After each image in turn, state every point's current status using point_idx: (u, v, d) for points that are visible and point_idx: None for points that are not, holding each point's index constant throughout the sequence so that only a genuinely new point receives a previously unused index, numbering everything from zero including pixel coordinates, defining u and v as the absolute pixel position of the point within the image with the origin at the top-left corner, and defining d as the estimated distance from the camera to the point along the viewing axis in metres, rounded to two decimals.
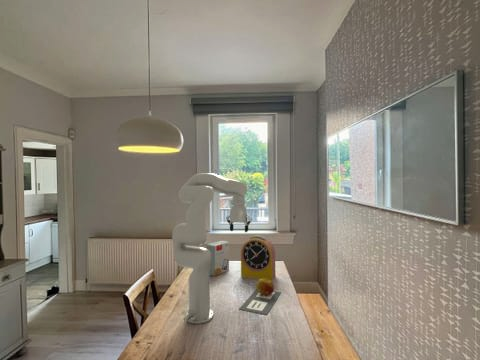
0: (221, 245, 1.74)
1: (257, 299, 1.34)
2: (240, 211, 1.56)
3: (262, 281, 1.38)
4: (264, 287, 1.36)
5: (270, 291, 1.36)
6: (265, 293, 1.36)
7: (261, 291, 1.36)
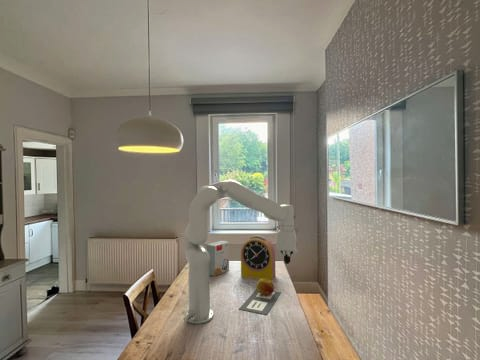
0: (221, 245, 1.74)
1: (257, 299, 1.34)
2: (289, 238, 1.32)
3: (262, 281, 1.38)
4: (264, 287, 1.36)
5: (270, 291, 1.36)
6: (265, 293, 1.36)
7: (261, 291, 1.36)
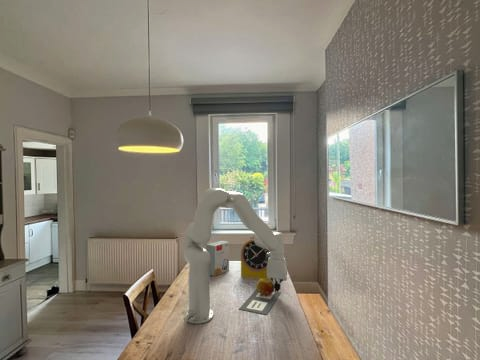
0: (221, 245, 1.74)
1: (257, 299, 1.34)
2: (279, 266, 1.34)
3: (262, 281, 1.38)
4: (264, 287, 1.36)
5: (270, 291, 1.36)
6: (265, 293, 1.36)
7: (261, 291, 1.36)
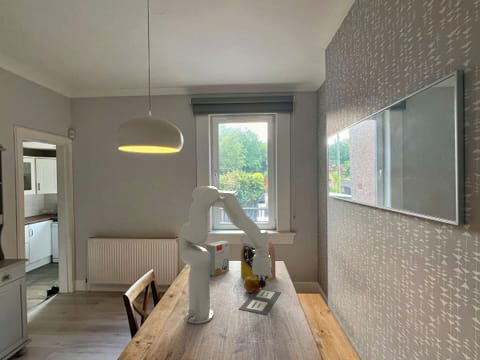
0: (221, 245, 1.74)
1: (257, 299, 1.34)
2: (264, 263, 1.38)
3: (248, 279, 1.43)
4: (250, 284, 1.40)
5: (256, 288, 1.40)
6: (251, 291, 1.40)
7: (247, 288, 1.41)
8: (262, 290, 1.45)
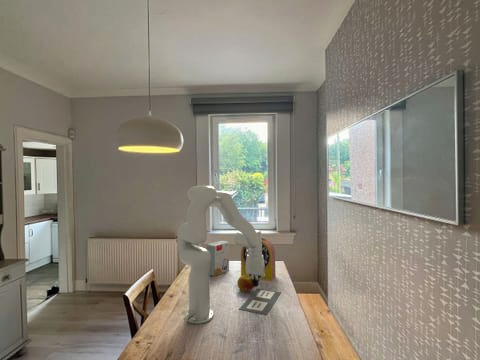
0: (221, 245, 1.74)
1: (257, 299, 1.34)
2: (257, 263, 1.39)
3: (242, 278, 1.44)
4: (243, 283, 1.42)
5: (249, 287, 1.42)
6: (244, 290, 1.42)
7: (240, 287, 1.43)
8: (262, 290, 1.45)
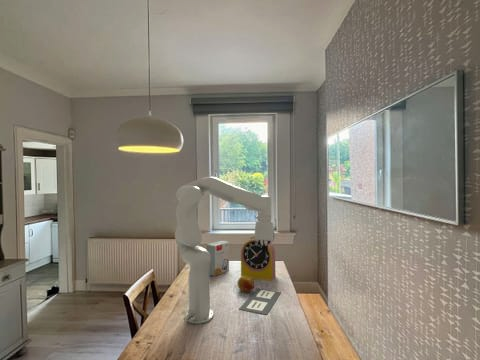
0: (221, 245, 1.74)
1: (257, 299, 1.34)
2: (267, 228, 1.37)
3: (242, 278, 1.44)
4: (243, 284, 1.42)
5: (249, 288, 1.42)
6: (244, 290, 1.42)
7: (241, 288, 1.42)
8: (262, 290, 1.45)
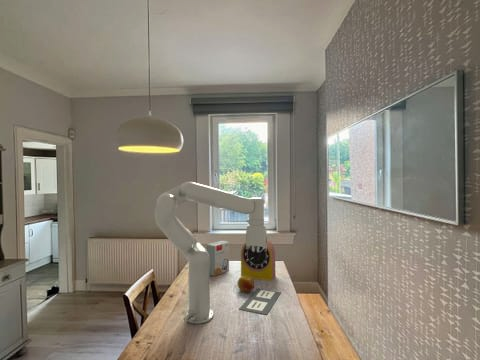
0: (221, 245, 1.74)
1: (257, 299, 1.34)
2: (259, 232, 1.25)
3: (242, 278, 1.44)
4: (243, 284, 1.42)
5: (249, 288, 1.42)
6: (244, 290, 1.42)
7: (241, 288, 1.42)
8: (262, 290, 1.45)
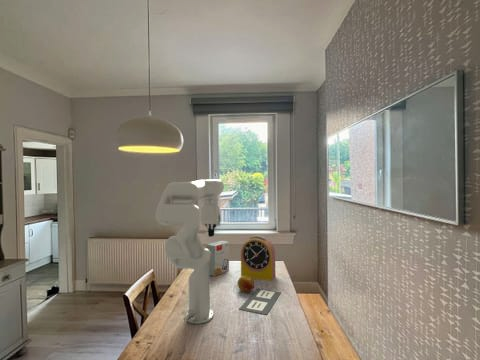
0: (221, 245, 1.74)
1: (257, 299, 1.34)
2: (212, 211, 1.38)
3: (242, 278, 1.44)
4: (243, 284, 1.42)
5: (249, 288, 1.42)
6: (244, 290, 1.42)
7: (241, 288, 1.42)
8: (262, 290, 1.45)
